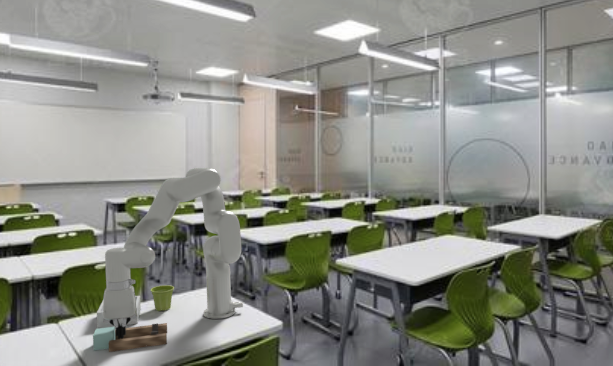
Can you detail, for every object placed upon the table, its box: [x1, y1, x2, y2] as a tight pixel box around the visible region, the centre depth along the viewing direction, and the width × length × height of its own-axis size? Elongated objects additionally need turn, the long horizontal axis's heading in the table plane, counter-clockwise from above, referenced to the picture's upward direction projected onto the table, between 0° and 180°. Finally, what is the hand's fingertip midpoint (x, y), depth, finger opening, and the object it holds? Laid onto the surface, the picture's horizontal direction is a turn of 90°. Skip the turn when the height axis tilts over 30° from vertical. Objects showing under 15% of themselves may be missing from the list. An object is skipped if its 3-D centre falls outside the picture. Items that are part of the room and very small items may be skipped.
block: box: [92, 327, 116, 351], centre depth 144 cm, size 6×6×5 cm
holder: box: [96, 295, 142, 329], centre depth 168 cm, size 14×16×6 cm
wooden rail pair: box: [108, 322, 168, 353], centre depth 147 cm, size 18×12×4 cm, turn 107°
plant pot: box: [150, 284, 175, 312], centre depth 178 cm, size 9×9×9 cm
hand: (121, 337), depth 145 cm, fingers closed
